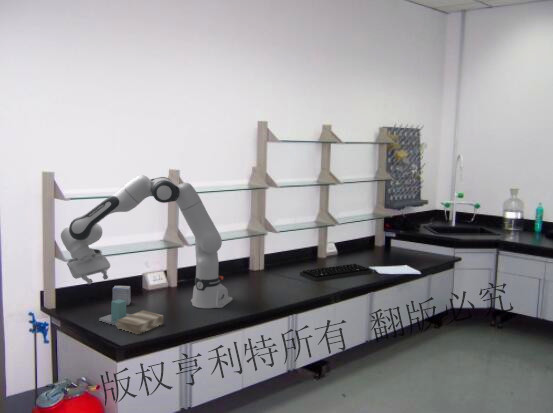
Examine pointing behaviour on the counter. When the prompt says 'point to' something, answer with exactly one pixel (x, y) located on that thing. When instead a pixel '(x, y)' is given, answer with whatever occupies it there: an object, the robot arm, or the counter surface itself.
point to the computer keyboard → (335, 272)
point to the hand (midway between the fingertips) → (98, 280)
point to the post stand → (110, 319)
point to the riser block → (140, 322)
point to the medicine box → (122, 293)
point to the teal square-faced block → (118, 309)
